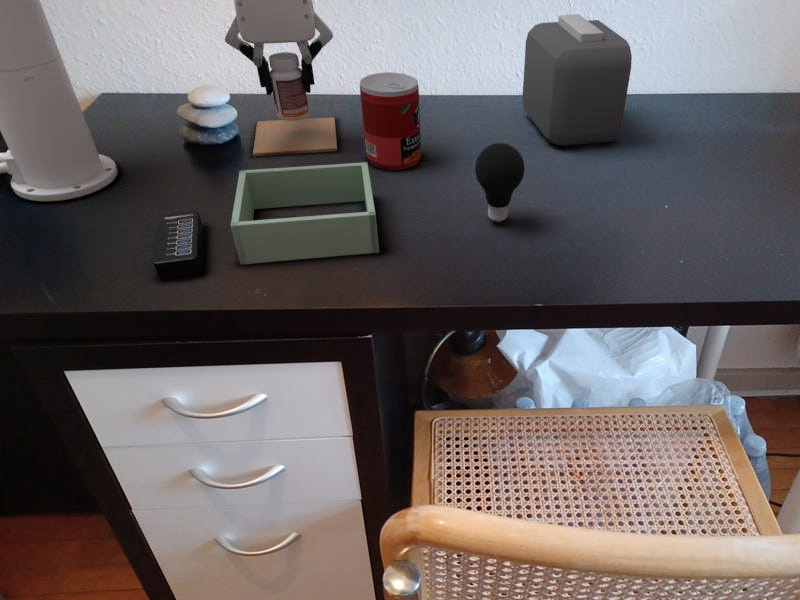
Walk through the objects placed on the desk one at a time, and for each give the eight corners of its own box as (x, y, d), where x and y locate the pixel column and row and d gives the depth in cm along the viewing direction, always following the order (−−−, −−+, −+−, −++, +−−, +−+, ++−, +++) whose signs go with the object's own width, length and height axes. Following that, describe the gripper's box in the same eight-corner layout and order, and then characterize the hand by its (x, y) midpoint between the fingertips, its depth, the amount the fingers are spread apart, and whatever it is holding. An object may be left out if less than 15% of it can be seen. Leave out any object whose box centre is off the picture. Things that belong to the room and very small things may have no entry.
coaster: (253, 156, 95) (252, 153, 95) (257, 124, 104) (257, 121, 104) (337, 151, 97) (337, 148, 97) (334, 120, 106) (334, 117, 106)
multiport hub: (159, 281, 72) (152, 263, 70) (165, 231, 79) (159, 214, 78) (202, 275, 73) (196, 257, 71) (203, 226, 80) (198, 209, 79)
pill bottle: (316, 113, 99) (307, 55, 94) (293, 123, 96) (283, 63, 91) (293, 106, 101) (283, 48, 95) (270, 116, 98) (258, 57, 92)
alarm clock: (618, 147, 100) (636, 37, 90) (547, 153, 98) (557, 42, 88) (580, 107, 112) (592, 7, 102) (516, 112, 110) (522, 10, 100)
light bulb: (497, 205, 86) (500, 130, 79) (530, 222, 83) (536, 146, 76) (464, 221, 83) (465, 144, 76) (497, 239, 80) (501, 160, 73)
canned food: (413, 173, 92) (409, 94, 85) (359, 167, 93) (350, 88, 86) (427, 151, 98) (425, 74, 91) (376, 145, 99) (369, 69, 92)
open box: (240, 264, 74) (230, 225, 71) (248, 206, 84) (239, 170, 81) (379, 252, 77) (375, 214, 73) (370, 197, 87) (367, 161, 83)
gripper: (330, -61, 88) (346, 79, 100) (197, -59, 85) (230, 85, 98) (332, -50, 83) (349, 96, 95) (190, -47, 80) (226, 103, 92)
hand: (288, 89), depth 96 cm, fingers closed on pill bottle, 4 cm apart
